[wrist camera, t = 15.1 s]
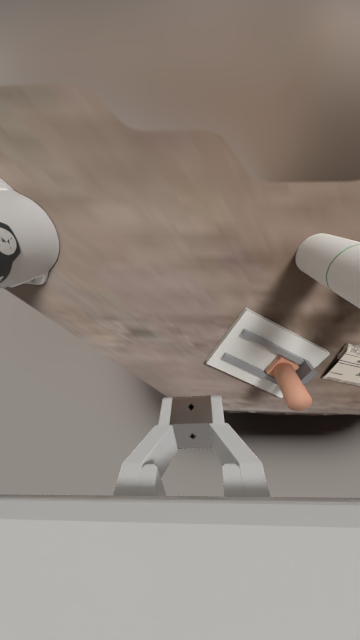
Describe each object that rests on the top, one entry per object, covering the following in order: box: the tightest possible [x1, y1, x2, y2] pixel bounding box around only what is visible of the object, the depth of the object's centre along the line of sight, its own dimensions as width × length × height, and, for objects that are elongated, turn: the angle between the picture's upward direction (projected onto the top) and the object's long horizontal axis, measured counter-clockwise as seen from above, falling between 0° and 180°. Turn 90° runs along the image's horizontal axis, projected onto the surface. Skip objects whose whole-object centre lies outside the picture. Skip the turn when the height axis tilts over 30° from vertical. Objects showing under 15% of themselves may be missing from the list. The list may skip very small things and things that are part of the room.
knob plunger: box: [265, 355, 312, 411], centre depth 46 cm, size 5×5×10 cm
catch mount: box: [206, 307, 330, 398], centre depth 48 cm, size 22×16×6 cm
